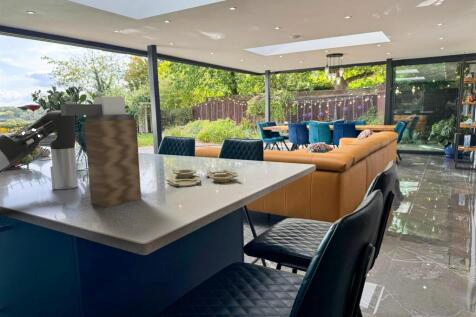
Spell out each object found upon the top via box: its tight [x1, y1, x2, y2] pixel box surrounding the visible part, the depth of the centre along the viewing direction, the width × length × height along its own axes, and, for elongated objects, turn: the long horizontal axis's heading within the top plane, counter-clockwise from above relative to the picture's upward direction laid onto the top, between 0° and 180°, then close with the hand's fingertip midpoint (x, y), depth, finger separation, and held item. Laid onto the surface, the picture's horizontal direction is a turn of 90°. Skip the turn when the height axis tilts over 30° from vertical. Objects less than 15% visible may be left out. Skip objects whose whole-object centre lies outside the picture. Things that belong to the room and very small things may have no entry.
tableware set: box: [165, 167, 238, 188], centre depth 158 cm, size 35×29×4 cm
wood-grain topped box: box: [83, 113, 142, 208], centre depth 119 cm, size 14×10×31 cm
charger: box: [59, 96, 126, 116], centre depth 112 cm, size 20×6×6 cm, turn 142°
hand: (49, 123), depth 101 cm, fingers open, 8 cm apart
